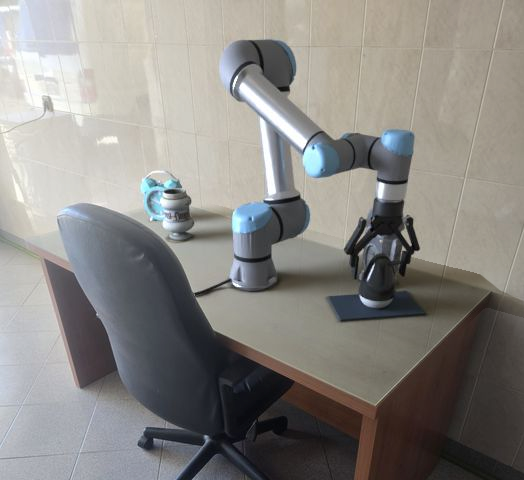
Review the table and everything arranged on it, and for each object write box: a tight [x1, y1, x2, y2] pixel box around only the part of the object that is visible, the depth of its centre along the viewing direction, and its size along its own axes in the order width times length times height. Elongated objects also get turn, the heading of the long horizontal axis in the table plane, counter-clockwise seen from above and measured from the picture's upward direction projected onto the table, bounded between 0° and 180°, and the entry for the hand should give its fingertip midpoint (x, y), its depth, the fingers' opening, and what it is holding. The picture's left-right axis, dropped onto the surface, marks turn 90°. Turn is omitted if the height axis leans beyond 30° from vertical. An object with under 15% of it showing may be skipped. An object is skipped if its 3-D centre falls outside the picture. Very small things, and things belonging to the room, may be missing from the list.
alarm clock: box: [140, 169, 183, 222], centre depth 196 cm, size 17×10×20 cm, turn 81°
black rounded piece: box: [357, 253, 401, 308], centre depth 129 cm, size 10×10×15 cm
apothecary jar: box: [160, 187, 195, 243], centre depth 178 cm, size 12×12×18 cm
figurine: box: [358, 207, 406, 282], centre depth 140 cm, size 10×14×25 cm
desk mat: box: [327, 290, 426, 322], centre depth 133 cm, size 24×14×1 cm, turn 97°
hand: (377, 276), depth 129 cm, fingers open, 13 cm apart
